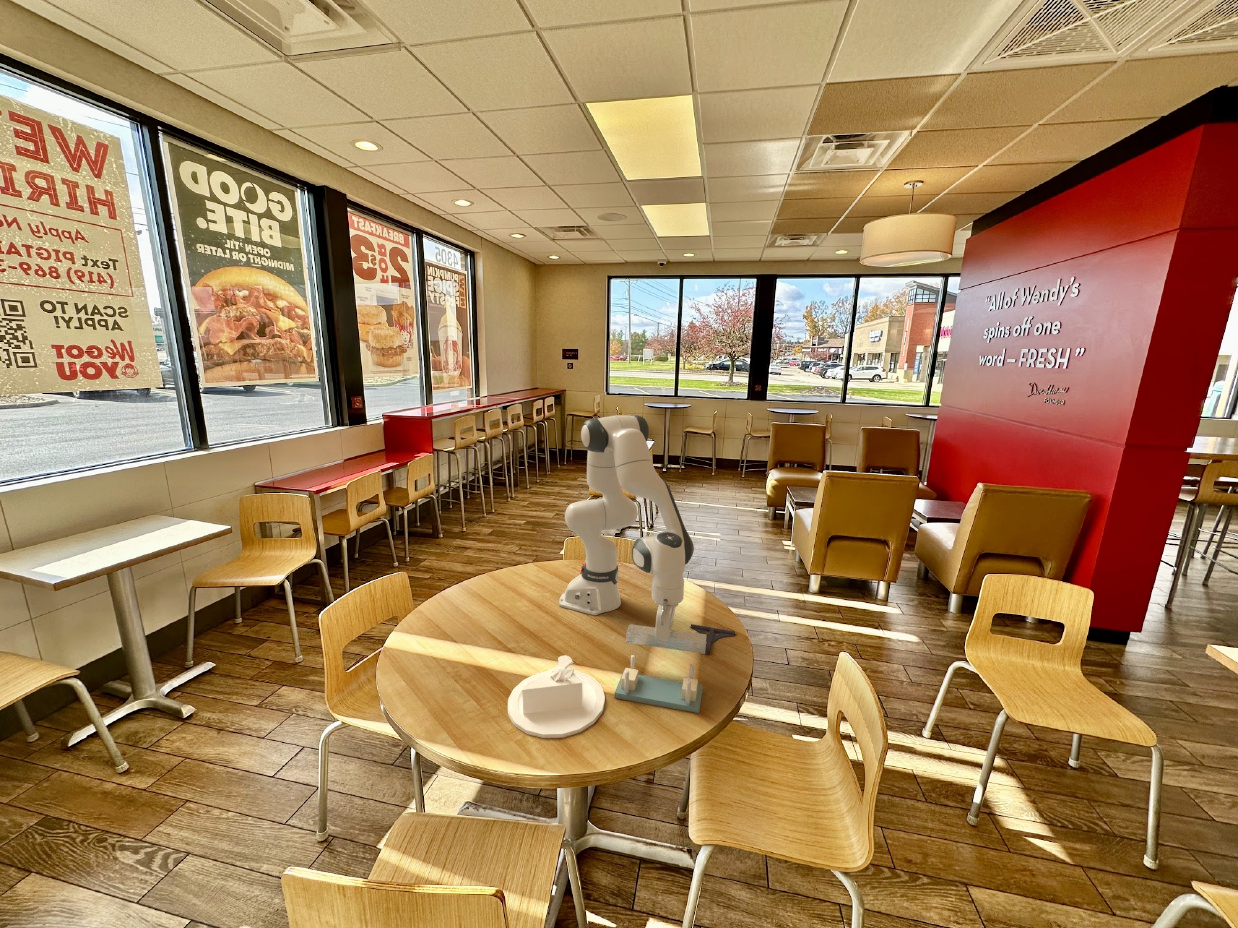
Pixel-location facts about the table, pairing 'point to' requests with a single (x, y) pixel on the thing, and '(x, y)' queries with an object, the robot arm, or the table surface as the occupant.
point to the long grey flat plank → (676, 640)
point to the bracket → (712, 634)
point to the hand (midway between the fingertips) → (665, 636)
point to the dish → (556, 702)
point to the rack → (660, 690)
